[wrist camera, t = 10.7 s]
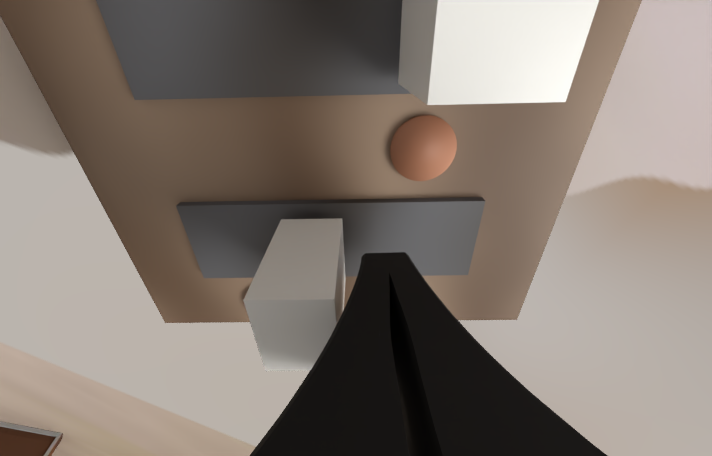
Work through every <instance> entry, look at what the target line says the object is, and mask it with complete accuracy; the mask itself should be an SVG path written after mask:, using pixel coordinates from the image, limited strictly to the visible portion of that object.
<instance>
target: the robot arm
mask: <svg viewBox="0 0 712 456" xmlns="http://www.w3.org/2000/svg"><path fill="white" fill-rule="evenodd" d="M250 456H607V455H606V454H604V453H603V452H602V451H601V450H599V449H598V448H597V447H595V446H594V445H593V444H592V443H590V442H589V441H588V440H587V439H585V438H584V437H583V436H582V435H581V434H580V433H578V432H577V431H576V430H575V429H573V428H572V427H571V426H570V425H569V424H568V423H566V422H565V421H564V420H563V419H562V418H560V417H559V416H558V415H557V414H556V413H554V412H553V411H552V410H551V409H550V408H549V407H547V406H546V405H545V404H544V403H542V402H541V401H540V400H539V399H538V398H537V397H535V396H534V395H533V394H532V393H531V392H530V391H528V390H527V389H526V388H525V387H524V386H523V385H522V384H521V383H520V382H519V381H518V380H516V379H515V378H514V377H513V376H512V375H511V374H510V373H509V372H508V371H506V369H504V368H503V367H502V366H501V365H500V364H499V363H498V362H497V361H496V360H495V359H494V358H493V357H492V356H491V355H490V354H489V353H488V352H487V351H486V350H485V349H484V348H483V347H482V346H481V345H480V344H479V343H478V342H477V341H476V340H475V339H474V338H473V337H472V335H471V334H470V333H469V332H468V331H467V330H466V329H465V328H464V327H463V326H462V324H460V322H459V321H458V320H457V319H456V318H455V317H454V316H453V314H452V313H451V312H450V311H449V310H448V308H447V307H446V306H445V305H444V304H443V302H442V301H441V300H440V299H439V297H438V296H437V295H436V294H435V292H434V291H433V290H432V289H431V287H430V286H429V285H428V283H427V282H426V281H425V279H424V278H423V276H422V275H421V274H420V272H419V271H418V269H417V268H416V266H415V265H414V263H413V262H412V260H411V259H410V257H409V255H408V254H407V253H405V252H393V253H365V254H364V255H363V256H362V257H361V264H360V269H359V272H358V276H357V278H356V281H355V284H354V287H353V289H352V292H351V294H350V297H349V299H348V302H347V304H346V306H345V308H344V311H343V313H342V315H341V317H340V319H339V321H338V323H337V325H336V327H335V329H334V331H333V333H332V335H331V336H330V338H329V340H328V342H327V344H326V345H325V347H324V349H323V351H322V352H321V354H320V356H319V357H318V359H317V361H316V362H315V364H314V366H313V367H312V369H311V370H310V372H309V374H308V375H307V377H306V378H305V380H304V381H303V383H302V385H301V386H300V387H299V389H298V390H297V392H296V393H295V395H294V397H293V398H292V399H291V401H290V402H289V404H288V405H287V406H286V408H285V409H284V411H283V412H282V414H281V415H280V416H279V418H278V419H277V420H276V422H275V423H274V425H273V426H272V427H271V428H270V430H269V431H268V432H267V434H266V435H265V436H264V438H263V439H262V440H261V442H260V443H259V444H258V445H257V447H256V448H255V449H254V451H253V452H252V453H251V455H250Z"/></svg>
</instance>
